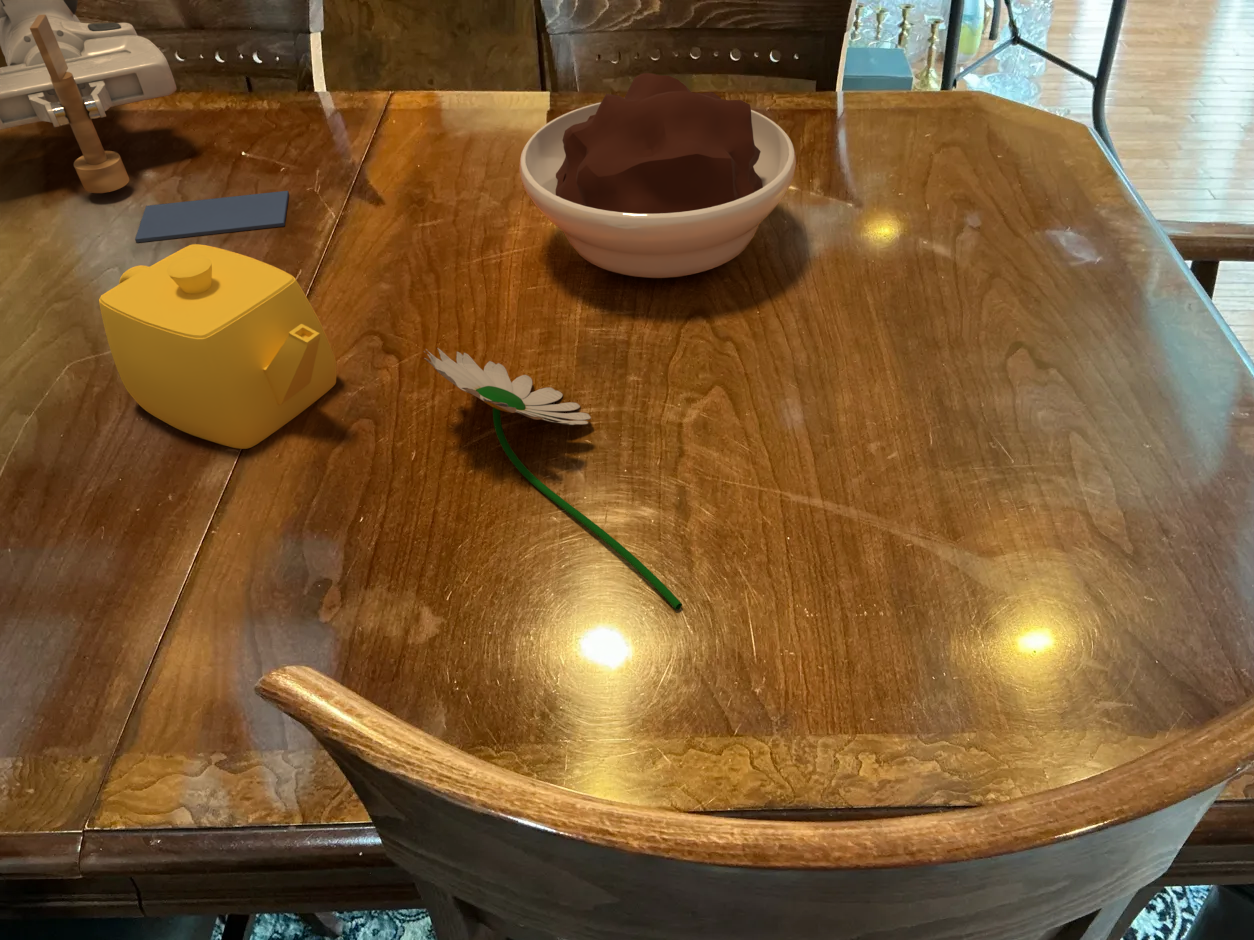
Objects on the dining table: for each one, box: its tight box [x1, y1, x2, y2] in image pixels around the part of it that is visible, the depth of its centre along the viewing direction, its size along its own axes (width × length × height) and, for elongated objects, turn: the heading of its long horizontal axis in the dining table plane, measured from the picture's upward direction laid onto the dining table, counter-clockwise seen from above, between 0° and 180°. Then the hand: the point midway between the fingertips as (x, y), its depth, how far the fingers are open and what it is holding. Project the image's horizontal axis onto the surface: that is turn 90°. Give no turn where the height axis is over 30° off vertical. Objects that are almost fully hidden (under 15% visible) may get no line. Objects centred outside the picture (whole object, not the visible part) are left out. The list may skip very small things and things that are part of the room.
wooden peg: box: [30, 15, 130, 194], centre depth 106 cm, size 4×4×16 cm
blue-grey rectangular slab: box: [134, 190, 290, 243], centre depth 108 cm, size 14×7×1 cm, turn 102°
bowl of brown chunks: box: [518, 72, 797, 279], centre depth 98 cm, size 25×25×15 cm
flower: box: [423, 347, 683, 611], centre depth 77 cm, size 13×6×30 cm
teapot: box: [98, 243, 338, 450], centre depth 83 cm, size 20×12×12 cm, turn 61°
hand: (77, 114), depth 106 cm, fingers closed on wooden peg, 2 cm apart
